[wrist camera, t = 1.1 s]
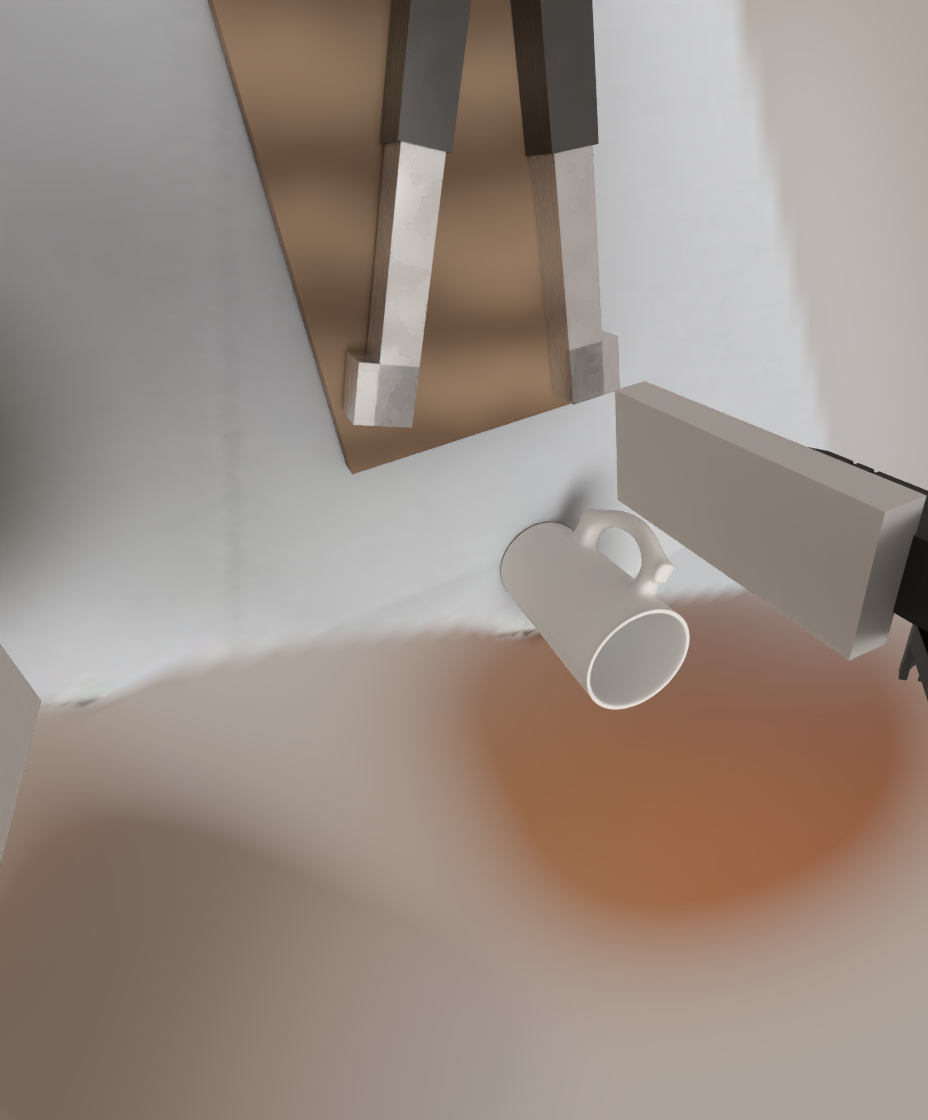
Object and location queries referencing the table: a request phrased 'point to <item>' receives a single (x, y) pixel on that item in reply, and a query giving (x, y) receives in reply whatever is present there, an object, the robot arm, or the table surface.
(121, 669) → the table surface
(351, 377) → the arm
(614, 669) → the mug
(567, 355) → the grey white bar
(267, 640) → the table surface
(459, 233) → the walnut board
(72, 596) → the table surface
